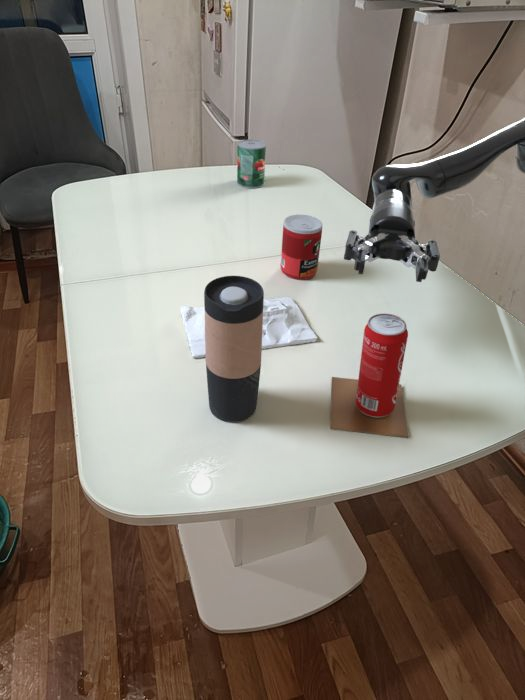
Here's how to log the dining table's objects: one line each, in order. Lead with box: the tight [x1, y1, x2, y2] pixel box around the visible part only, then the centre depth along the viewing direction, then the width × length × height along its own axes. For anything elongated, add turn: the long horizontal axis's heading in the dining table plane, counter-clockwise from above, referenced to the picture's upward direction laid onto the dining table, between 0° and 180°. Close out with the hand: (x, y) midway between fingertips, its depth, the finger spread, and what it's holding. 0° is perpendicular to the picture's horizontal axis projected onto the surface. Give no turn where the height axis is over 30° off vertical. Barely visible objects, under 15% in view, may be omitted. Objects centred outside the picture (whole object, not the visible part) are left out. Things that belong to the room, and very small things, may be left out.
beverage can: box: [356, 313, 409, 418], centre depth 72 cm, size 6×6×15 cm
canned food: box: [280, 214, 323, 280], centre depth 105 cm, size 8×8×11 cm
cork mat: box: [330, 376, 410, 439], centre depth 77 cm, size 11×11×1 cm
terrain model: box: [179, 296, 318, 359], centre depth 90 cm, size 17×23×5 cm
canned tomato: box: [236, 139, 267, 189], centre depth 143 cm, size 8×8×11 cm
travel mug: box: [203, 275, 265, 423], centre depth 70 cm, size 8×8×20 cm
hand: (390, 272), depth 75 cm, fingers open, 8 cm apart
